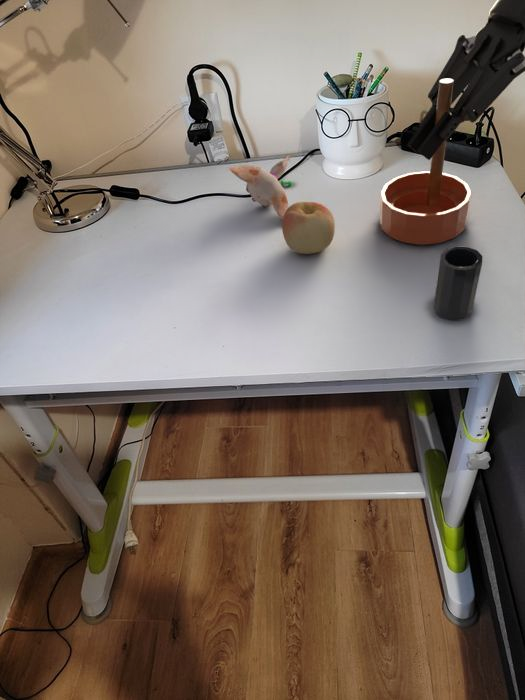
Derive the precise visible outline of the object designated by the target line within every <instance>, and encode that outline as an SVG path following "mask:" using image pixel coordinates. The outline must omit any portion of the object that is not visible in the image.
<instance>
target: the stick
mask: <svg viewBox="0 0 525 700" xmlns="http://www.w3.org/2000/svg"><path fill="white" fill-rule="evenodd" d="M453 84H454V80H453V79H450V78H446V79H442V80H440V81H439V90H438V99H437V109H436V118H435V125H436V124H437V123H438V121H439V120H440V119H441V117H442V116H443V115H444V113H445V112H448V113H449V114H450V115H451V113H450V112H449V107H450V108H452V107H451V106H452V105H451V100H452V92H453ZM446 147H447V140H446V141H445V140H444V141H443V143H442V144H441V145H440V147H439V148H438V149H437V151H436V152H435V153H434V155H433V156H432V157H431V159H430V167H429V172H430V176H429V185H428V195H427V205H428V206H430V207H435V206H437V205H438V204H439V197H440V189H441V181H442V173H444V172H443V171H444V164H445V156H446V149H447V148H446Z"/></svg>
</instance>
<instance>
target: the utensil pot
mask: <svg viewBox="0 0 525 700" xmlns="http://www.w3.org/2000/svg"><path fill="white" fill-rule="evenodd" d="M438 264H439V265H438V272H437V279H436V286H435V292H434V293H435V294H434V302H433V310H434V312H435V314H436V315H437V316H438V317H440V318H442V319H443V320H447V321H452V322H453V321H455V322H456V321H457V322H458V321H461V320H465V319H467V318H469V316H470V315H471V314H472V311H473V309H474V304H475V299H476V295H477V289H478V284H479V280H480V275H481V271H482V267H483V255H482V254H481V253H480V251H478V250H477V249H474V248H472V247H469V246H464V245H463V246H462V245H461V246H460V245H455V246H451V247H448V248H445V249H444V250H443V251H442V252H441V253H440V257H439V263H438Z"/></svg>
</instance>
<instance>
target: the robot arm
mask: <svg viewBox="0 0 525 700" xmlns="http://www.w3.org/2000/svg"><path fill="white" fill-rule="evenodd" d="M524 51H525V0H496V1H495V3H494V4H493V6H492V7H491V9H490V10H489V12H488V18H487V22H486V23H485V25H484V26H483V27H481V28H480V29H479V30H478V31H477V32H476V34H475V35H473V36H469V37H466V35H465V34H462V35H460V36H459V37H458V38H457V41H456V44H455V47H454V51H453V52H452V54H451V55H450V57H449V59H448V60H447V62H446V63H445V65H444V67H443V69H442V70H441V72H440V74H439V76H438V77H437V78H436V81H435V82H434V84H433V85H432V87H431V88H430V91H429V92H428V94H427V98H428V100H430V102H431V107H430V109H429V110H428V111H427V112H426V114H425V115H424V117H423V118H422V119H421V121H420V123H419V127H418V128H417V129H416V131H415V132H414V134H413V135H412V137H411V138H410V140H409V141H407V142H408V143H407V144H406V145H407V146H408V147H409V148H410V149H411V150H413V151H414V152H415V153H416V154H418V155H421V156H423V157H424V158H425V159H426V160H428V161H431V157H432V156H433V155H434V153H435V152H436V151H437V149H438V148H439V147H440V145H441V144H442V143H443V141H444V140H445V141H446V142H447V141H448V140H449V139H450V138H451V137H452V135H453V134H454V133H455V131H456V130H457V129H458V128H459V126H460V125H461V124H462V123H464V122H470V123H472V124H473V123H475V122H477V121H478V119H480V117H481V116H483V114H484V113H485V112H486V110H488V109H489V107H491V105H492V104H493V103H494V102H495V101H496V100H497V99H498V98H499V96H500V95H501V94H502V93H503V92H504V91H505V90H506V89H507V88H508V86H509V85H511V83H512V82H513V81H514V80H515V79H517V78H518V77H519V76H520V75H521V74H523V73H525V55H524ZM446 78H450V79H453V80H454V84H453V92H452V100H451V106H452V105H453V104H454V102H455V101H457V102H455V105H454V106H453V107H451V108H450V107H449V112H450V114H449V113H448V112H445V113H444V115H443V116H442V117H441V119H440V120H439V121H438V123H437V124H436V125H435V118H436V109H437V99H438V90H439V81H440V80H442V79H446ZM457 99H458V100H457Z"/></svg>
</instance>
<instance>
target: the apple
mask: <svg viewBox="0 0 525 700" xmlns="http://www.w3.org/2000/svg"><path fill="white" fill-rule="evenodd" d="M335 225H336V224H335V218H334V215H333V214H332V212H331V210H330V209H329V208H328V207H327V206H325V205H323V204H322V203H319V202H316V201H300V202H299V201H297V202H295V203H293V204H291V205H289V208H288V209H287V210H286V212H285V214H284V216H283V220H282V219H281V231H282V235H283V238H284V241H285V243H286V245H287V246H288V248H289V249H290V250H291V251H293V252H294V253H297V254H305V255H309V254H311V255H312V254H316V253H319V252H322V251H324V250H326V249H327V248H328V247H329V246H330V245H331V244H332V242H333V240H334V236H335V230H336V226H335Z"/></svg>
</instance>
